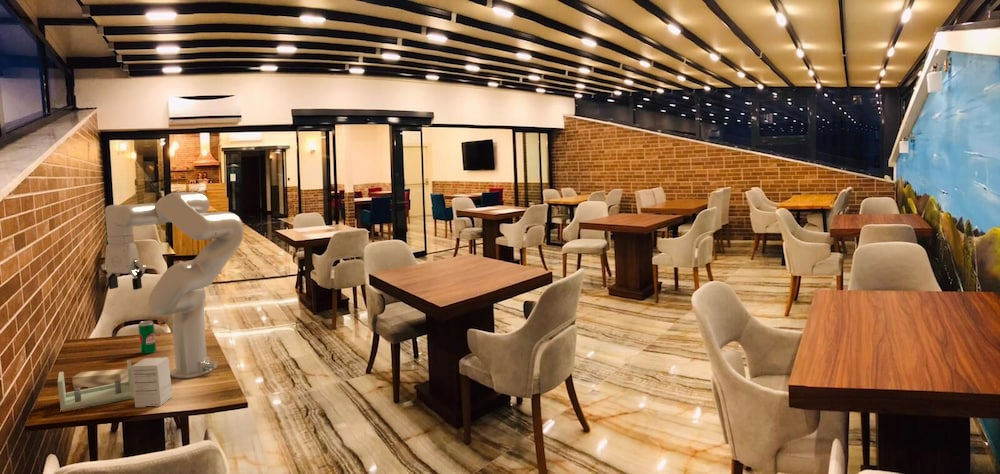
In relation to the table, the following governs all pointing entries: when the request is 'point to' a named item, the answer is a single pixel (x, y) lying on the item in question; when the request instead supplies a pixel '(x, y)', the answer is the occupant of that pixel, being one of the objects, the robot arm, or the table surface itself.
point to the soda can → (147, 337)
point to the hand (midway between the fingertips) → (125, 288)
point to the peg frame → (95, 393)
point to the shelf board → (99, 378)
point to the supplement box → (151, 382)
